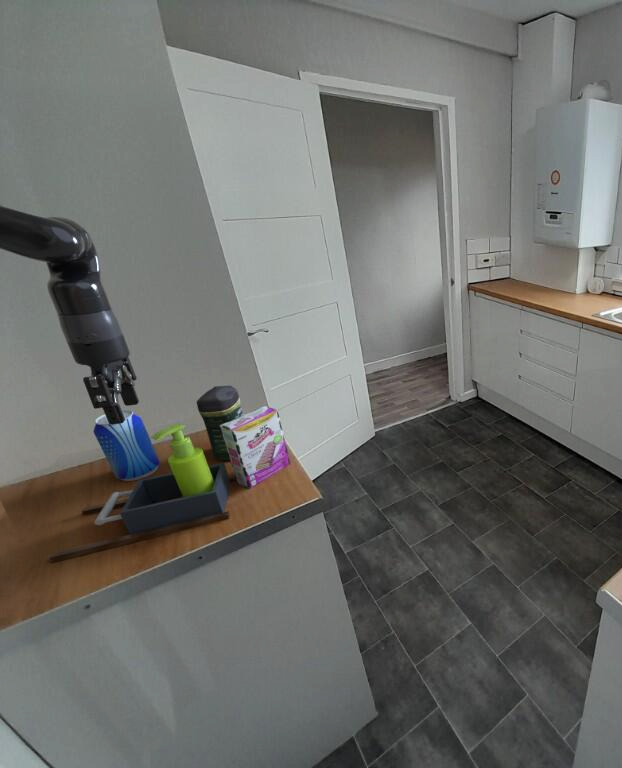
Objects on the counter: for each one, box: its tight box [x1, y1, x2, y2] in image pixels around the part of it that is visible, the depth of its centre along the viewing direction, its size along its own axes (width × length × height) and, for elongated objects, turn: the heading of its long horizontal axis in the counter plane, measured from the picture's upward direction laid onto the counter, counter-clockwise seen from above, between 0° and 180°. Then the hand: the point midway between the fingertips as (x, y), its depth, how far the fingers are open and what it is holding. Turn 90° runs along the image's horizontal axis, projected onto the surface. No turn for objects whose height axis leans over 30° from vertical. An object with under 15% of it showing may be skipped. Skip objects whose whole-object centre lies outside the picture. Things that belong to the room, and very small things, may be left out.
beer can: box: [93, 409, 161, 482], centre depth 97 cm, size 8×8×16 cm
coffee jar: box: [196, 385, 244, 463], centre depth 105 cm, size 10×8×19 cm
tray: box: [94, 462, 232, 535], centre depth 87 cm, size 20×12×6 cm, turn 115°
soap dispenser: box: [150, 423, 214, 498], centre depth 86 cm, size 6×7×20 cm
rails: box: [48, 475, 237, 563], centre depth 87 cm, size 28×15×1 cm, turn 115°
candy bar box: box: [220, 405, 291, 490], centre depth 97 cm, size 11×5×16 cm, turn 154°
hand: (125, 413), depth 81 cm, fingers open, 8 cm apart
